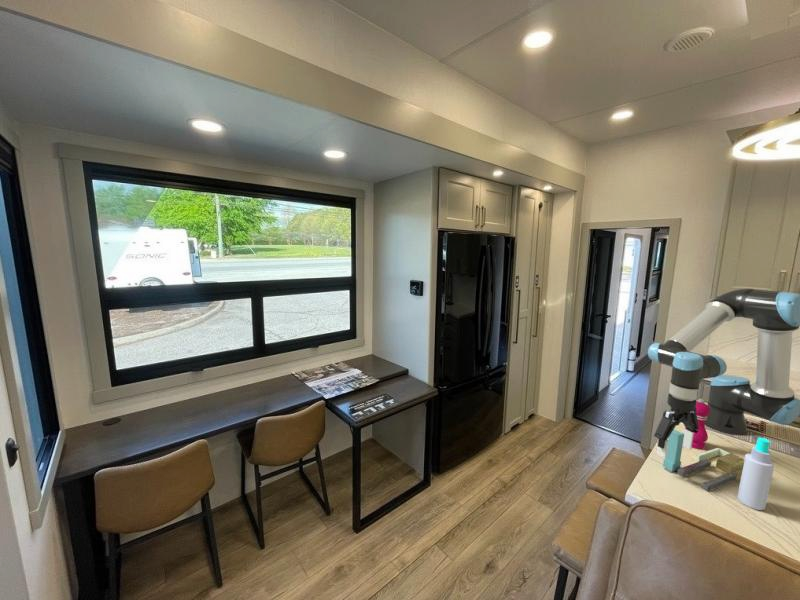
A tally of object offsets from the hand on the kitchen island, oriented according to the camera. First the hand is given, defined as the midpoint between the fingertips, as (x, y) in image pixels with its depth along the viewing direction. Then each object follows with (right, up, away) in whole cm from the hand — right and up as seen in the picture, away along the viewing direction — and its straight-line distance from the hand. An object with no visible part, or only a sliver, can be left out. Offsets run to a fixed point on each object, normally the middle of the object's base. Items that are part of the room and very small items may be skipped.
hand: (673, 451), depth 117 cm
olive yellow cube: (+19, -7, +1) cm, 21 cm away
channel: (+9, -8, -3) cm, 12 cm away
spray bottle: (+12, -10, -15) cm, 21 cm away
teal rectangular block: (0, -7, +1) cm, 7 cm away
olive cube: (+23, -7, +2) cm, 25 cm away
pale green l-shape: (+22, -7, +1) cm, 23 cm away
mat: (0, -7, +1) cm, 7 cm away
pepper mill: (+21, -5, +16) cm, 27 cm away
